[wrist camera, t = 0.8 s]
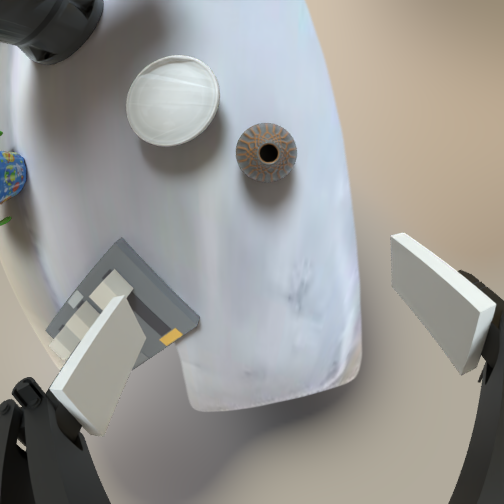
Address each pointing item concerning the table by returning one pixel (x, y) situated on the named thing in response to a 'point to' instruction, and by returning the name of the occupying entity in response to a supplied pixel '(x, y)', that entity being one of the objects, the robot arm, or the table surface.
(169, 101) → the ramekin
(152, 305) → the switch panel
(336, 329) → the table surface
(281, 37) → the table surface
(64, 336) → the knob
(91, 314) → the knob mid
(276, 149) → the vase
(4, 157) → the snack cup
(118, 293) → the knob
